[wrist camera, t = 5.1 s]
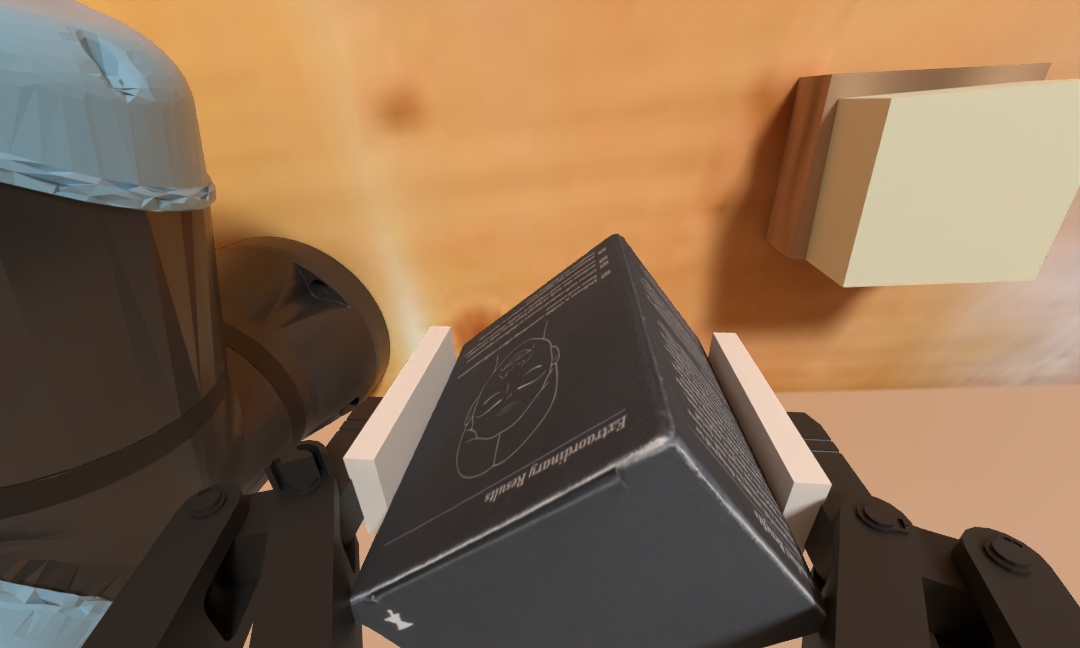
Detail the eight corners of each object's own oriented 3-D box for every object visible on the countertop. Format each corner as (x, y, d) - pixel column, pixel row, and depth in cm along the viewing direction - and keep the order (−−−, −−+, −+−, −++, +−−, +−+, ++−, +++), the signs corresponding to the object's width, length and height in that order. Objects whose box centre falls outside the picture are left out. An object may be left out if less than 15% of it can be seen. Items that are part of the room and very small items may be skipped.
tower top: (805, 259, 24) (842, 287, 20) (838, 98, 20) (891, 98, 17) (965, 252, 23) (1034, 280, 19) (1032, 80, 19) (1132, 76, 16)
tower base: (763, 238, 27) (788, 259, 24) (796, 77, 23) (832, 74, 20) (916, 237, 26) (965, 258, 23) (978, 68, 22) (1051, 62, 19)
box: (548, 427, 19) (514, 726, 10) (462, 341, 18) (326, 609, 8) (703, 338, 17) (852, 643, 7) (618, 225, 15) (673, 438, 6)
